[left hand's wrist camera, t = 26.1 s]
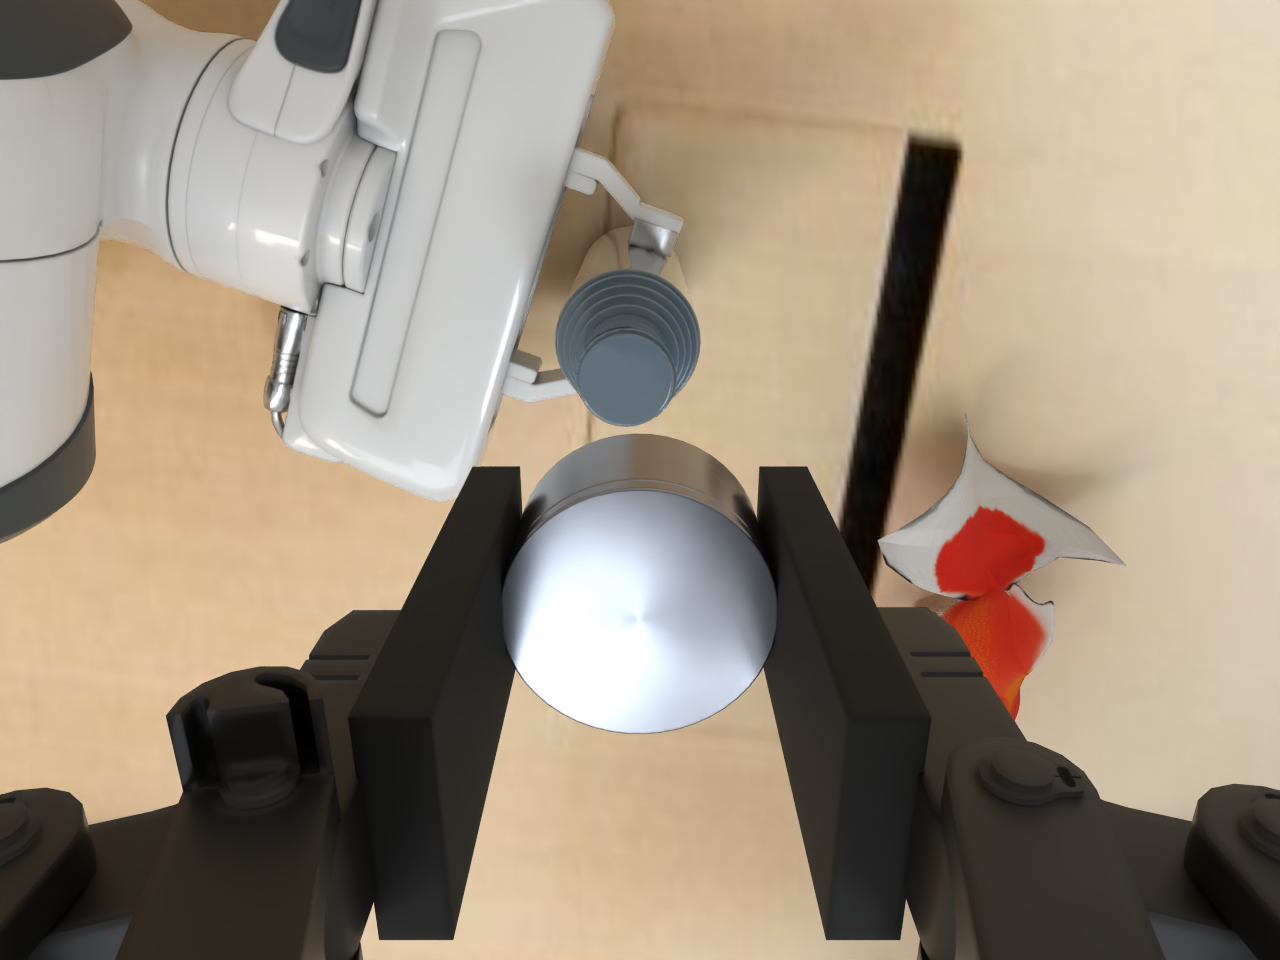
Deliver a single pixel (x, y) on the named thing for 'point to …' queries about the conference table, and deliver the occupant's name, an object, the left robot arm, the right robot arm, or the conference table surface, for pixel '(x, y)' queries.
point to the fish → (992, 566)
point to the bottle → (627, 331)
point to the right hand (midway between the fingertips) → (651, 311)
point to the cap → (639, 587)
